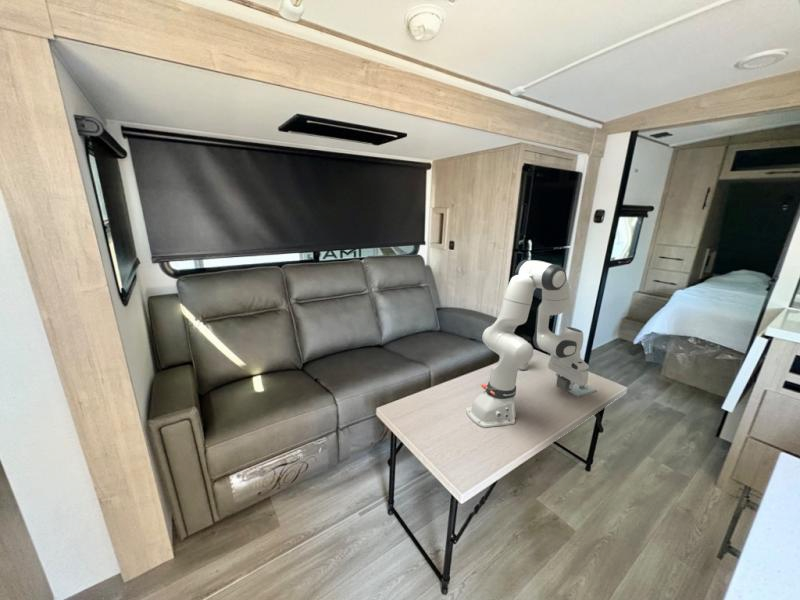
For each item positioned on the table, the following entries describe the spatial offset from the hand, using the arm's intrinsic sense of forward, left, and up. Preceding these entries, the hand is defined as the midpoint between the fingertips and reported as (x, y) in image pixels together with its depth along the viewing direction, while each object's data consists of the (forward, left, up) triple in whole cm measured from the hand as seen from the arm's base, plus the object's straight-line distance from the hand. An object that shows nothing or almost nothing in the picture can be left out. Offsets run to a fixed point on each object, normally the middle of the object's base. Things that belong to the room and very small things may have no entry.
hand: (564, 385), depth 156 cm
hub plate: (+12, +2, -6) cm, 13 cm away
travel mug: (+1, +30, -6) cm, 31 cm away
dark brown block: (0, 0, -2) cm, 2 cm away
